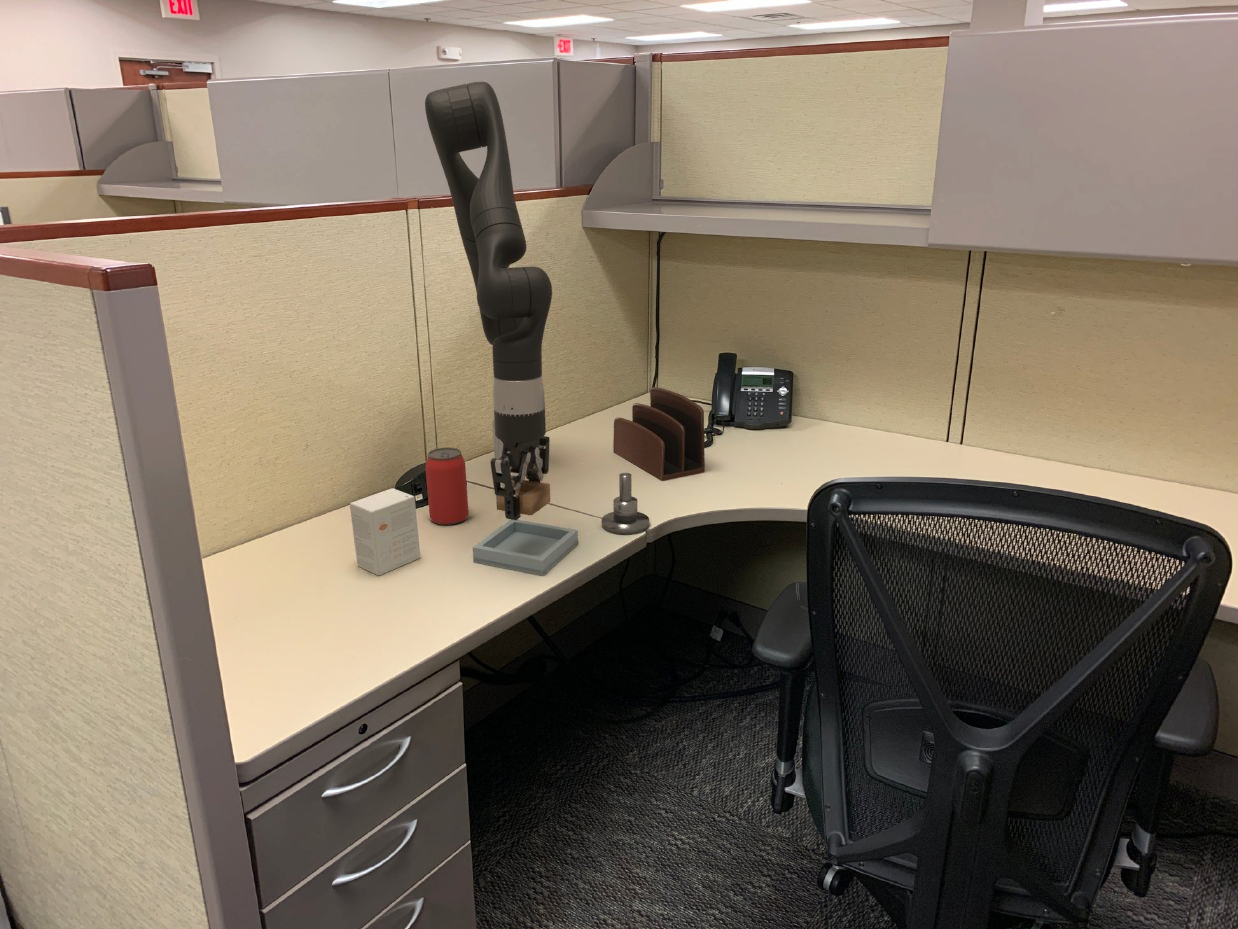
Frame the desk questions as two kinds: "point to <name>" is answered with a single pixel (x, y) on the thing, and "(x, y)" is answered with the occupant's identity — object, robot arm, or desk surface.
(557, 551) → the tray
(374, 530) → the small box
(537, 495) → the wooden block
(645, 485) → the desk surface
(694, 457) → the letter holder
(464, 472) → the beer can
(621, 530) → the stepped metal shaft
